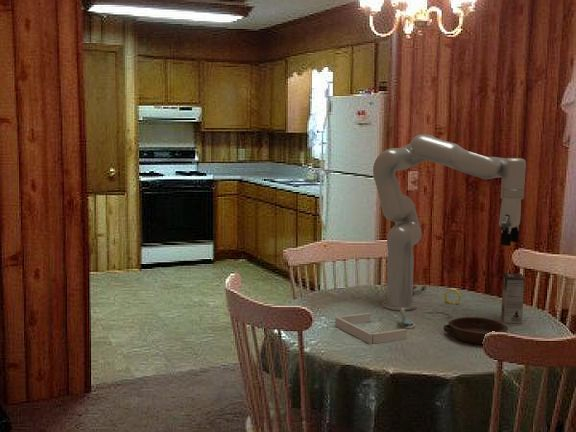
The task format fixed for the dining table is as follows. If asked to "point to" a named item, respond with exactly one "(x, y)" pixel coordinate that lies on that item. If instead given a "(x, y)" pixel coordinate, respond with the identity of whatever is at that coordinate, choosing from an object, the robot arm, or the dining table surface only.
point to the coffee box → (512, 298)
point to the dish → (473, 328)
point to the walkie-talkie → (417, 290)
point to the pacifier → (405, 320)
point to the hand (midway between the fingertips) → (509, 243)
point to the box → (371, 338)
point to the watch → (455, 291)
